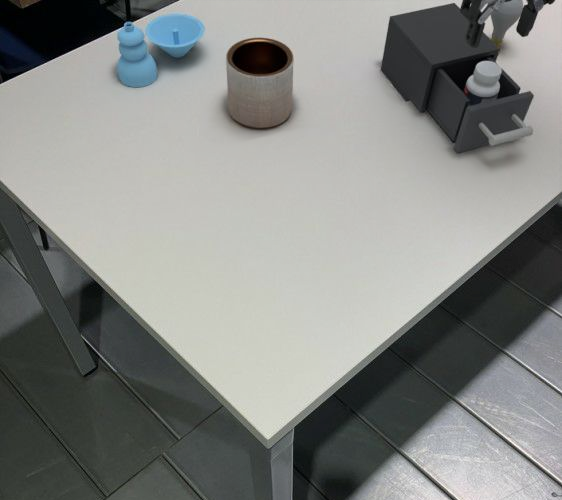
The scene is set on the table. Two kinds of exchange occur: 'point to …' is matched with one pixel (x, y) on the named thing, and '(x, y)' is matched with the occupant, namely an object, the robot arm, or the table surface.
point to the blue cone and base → (164, 33)
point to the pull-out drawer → (477, 108)
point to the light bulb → (505, 19)
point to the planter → (259, 82)
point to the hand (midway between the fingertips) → (497, 39)
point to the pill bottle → (483, 83)
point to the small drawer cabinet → (428, 49)
